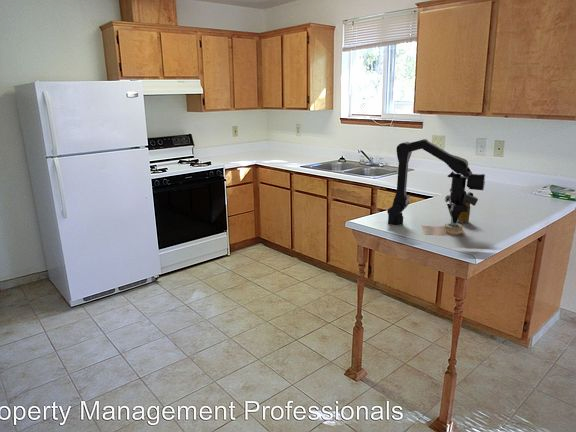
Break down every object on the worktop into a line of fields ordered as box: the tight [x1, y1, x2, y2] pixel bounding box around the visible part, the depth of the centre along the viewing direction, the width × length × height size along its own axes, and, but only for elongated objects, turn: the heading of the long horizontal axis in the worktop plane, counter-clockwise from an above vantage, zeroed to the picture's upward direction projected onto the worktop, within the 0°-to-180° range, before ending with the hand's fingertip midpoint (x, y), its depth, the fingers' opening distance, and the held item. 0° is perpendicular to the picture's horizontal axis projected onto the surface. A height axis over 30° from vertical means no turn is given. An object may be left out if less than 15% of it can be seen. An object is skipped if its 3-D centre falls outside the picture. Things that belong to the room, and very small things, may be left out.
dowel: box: [450, 216, 458, 227], centre depth 192 cm, size 3×3×10 cm
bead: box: [444, 222, 464, 234], centre depth 193 cm, size 7×7×3 cm
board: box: [421, 225, 468, 238], centre depth 195 cm, size 18×13×1 cm
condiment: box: [457, 202, 471, 225], centre depth 206 cm, size 7×8×12 cm
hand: (454, 221), depth 192 cm, fingers closed on dowel, 3 cm apart
